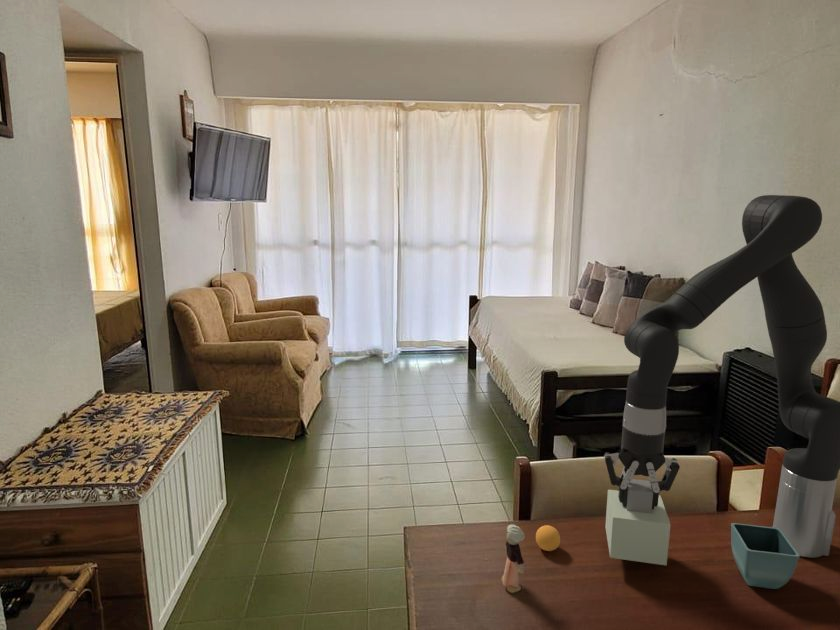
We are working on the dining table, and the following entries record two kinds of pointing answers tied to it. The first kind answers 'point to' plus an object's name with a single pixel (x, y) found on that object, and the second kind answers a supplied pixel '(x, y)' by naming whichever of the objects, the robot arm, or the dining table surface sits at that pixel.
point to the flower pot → (763, 555)
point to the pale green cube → (637, 525)
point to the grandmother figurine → (513, 559)
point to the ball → (547, 538)
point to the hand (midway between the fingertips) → (637, 504)
